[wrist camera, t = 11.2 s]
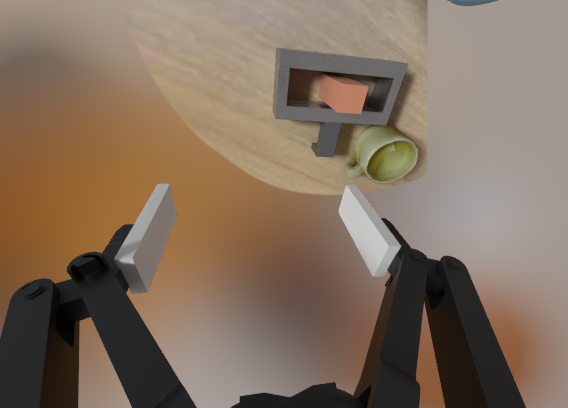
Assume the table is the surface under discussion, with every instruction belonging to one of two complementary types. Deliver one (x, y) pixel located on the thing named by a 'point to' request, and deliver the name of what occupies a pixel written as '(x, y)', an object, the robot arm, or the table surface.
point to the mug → (382, 155)
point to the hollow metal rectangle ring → (320, 111)
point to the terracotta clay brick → (342, 93)
